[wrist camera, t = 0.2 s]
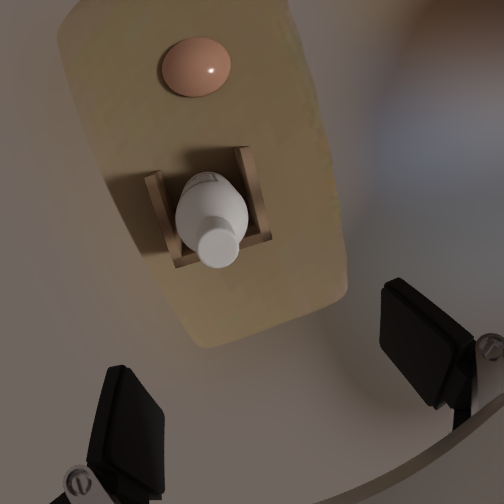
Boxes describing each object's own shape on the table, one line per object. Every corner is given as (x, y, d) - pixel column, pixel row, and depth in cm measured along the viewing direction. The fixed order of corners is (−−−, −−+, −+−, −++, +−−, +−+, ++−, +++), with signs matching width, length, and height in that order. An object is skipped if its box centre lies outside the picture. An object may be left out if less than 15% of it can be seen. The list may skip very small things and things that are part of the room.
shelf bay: (152, 172, 34) (144, 177, 29) (242, 146, 35) (250, 146, 29) (178, 250, 39) (175, 268, 33) (261, 225, 40) (272, 239, 34)
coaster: (156, 49, 28) (156, 47, 27) (221, 33, 28) (222, 31, 28) (170, 105, 31) (170, 104, 31) (237, 88, 32) (237, 87, 31)
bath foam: (173, 207, 36) (150, 270, 18) (197, 162, 35) (196, 178, 16) (217, 229, 39) (237, 308, 20) (242, 186, 37) (287, 228, 19)
